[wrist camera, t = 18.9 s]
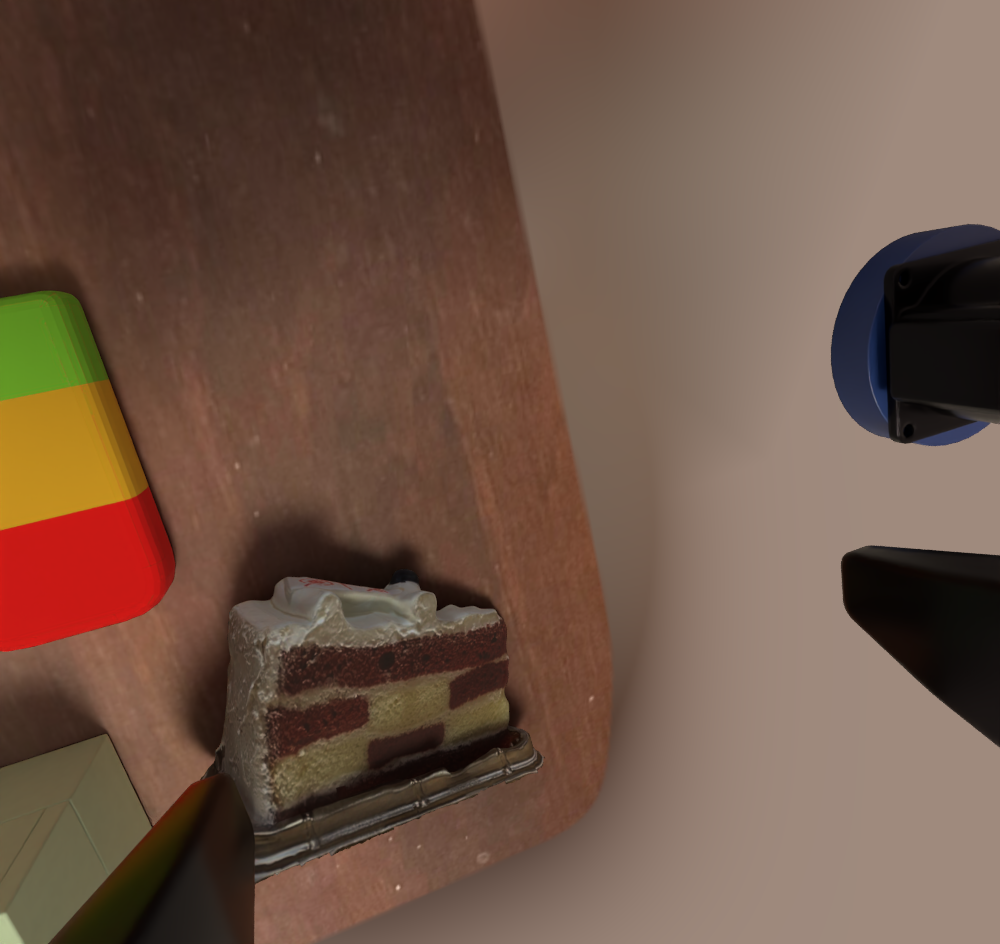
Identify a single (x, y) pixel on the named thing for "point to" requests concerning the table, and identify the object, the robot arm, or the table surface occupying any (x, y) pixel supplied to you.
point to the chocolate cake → (361, 713)
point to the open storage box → (62, 835)
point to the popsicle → (68, 484)
